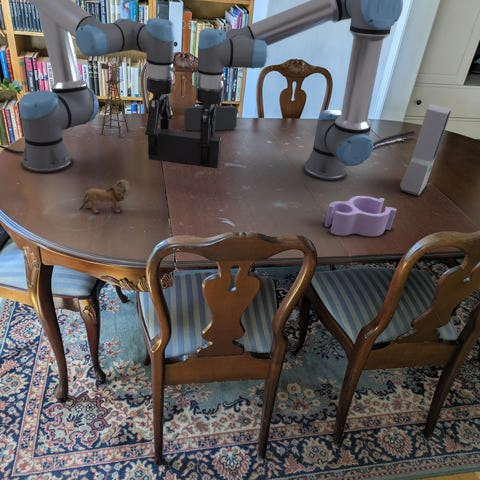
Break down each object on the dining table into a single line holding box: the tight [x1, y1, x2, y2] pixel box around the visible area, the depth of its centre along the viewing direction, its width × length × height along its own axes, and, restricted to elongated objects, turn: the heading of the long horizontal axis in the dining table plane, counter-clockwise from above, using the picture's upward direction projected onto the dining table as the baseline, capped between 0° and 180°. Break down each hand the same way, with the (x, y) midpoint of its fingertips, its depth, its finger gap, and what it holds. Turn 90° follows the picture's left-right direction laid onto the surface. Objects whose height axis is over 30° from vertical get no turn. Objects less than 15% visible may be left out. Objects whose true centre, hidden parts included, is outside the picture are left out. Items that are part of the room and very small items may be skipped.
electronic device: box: [399, 103, 452, 197], centre depth 162 cm, size 12×8×30 cm, turn 148°
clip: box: [324, 195, 398, 237], centre depth 141 cm, size 20×12×7 cm, turn 109°
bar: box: [148, 127, 222, 169], centre depth 146 cm, size 22×4×9 cm, turn 83°
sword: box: [373, 136, 412, 149], centre depth 209 cm, size 31×3×1 cm, turn 126°
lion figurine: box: [78, 179, 131, 214], centre depth 135 cm, size 15×5×9 cm, turn 110°
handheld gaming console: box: [183, 105, 239, 132], centre depth 200 cm, size 23×3×10 cm, turn 108°
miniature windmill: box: [100, 54, 130, 138], centre depth 181 cm, size 9×8×30 cm
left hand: (158, 146), depth 147 cm, fingers open, 13 cm apart
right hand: (206, 162), depth 148 cm, fingers closed on bar, 4 cm apart
